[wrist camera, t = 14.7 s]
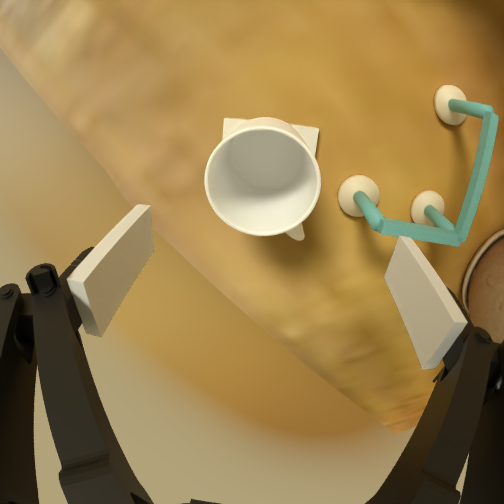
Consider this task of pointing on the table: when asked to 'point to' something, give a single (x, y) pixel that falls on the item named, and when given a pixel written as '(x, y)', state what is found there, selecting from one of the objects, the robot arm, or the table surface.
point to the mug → (263, 179)
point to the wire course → (429, 202)
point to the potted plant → (487, 287)
